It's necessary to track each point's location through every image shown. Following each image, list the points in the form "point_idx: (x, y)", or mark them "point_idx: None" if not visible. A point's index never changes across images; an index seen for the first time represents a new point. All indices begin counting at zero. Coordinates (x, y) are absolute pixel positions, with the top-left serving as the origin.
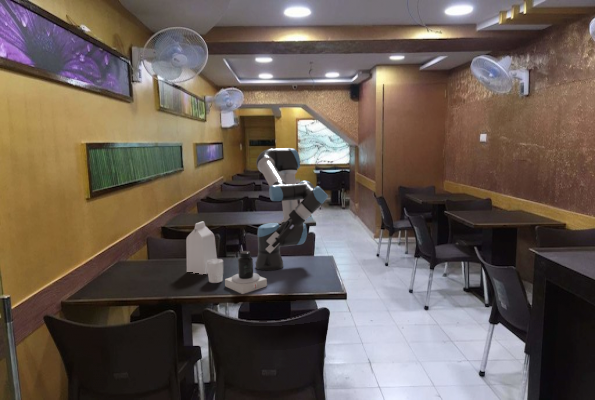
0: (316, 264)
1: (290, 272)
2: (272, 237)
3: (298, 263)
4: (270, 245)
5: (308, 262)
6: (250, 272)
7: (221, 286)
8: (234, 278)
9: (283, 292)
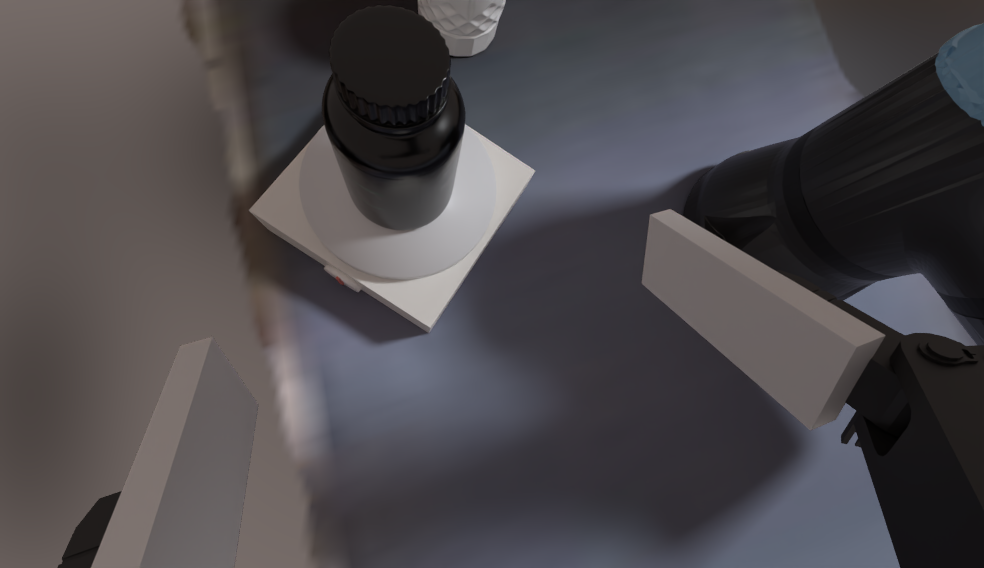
0: None
1: (701, 402)
2: (725, 292)
3: None
4: (156, 447)
5: None
6: (370, 209)
7: None
8: None
9: (335, 482)
